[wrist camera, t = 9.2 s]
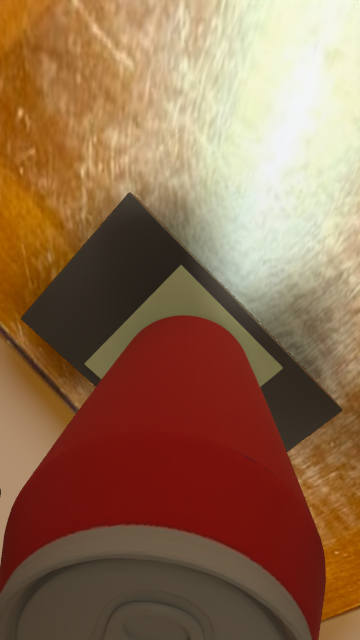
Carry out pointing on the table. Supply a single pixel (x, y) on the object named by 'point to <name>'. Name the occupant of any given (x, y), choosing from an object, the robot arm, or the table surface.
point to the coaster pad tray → (163, 313)
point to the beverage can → (165, 508)
